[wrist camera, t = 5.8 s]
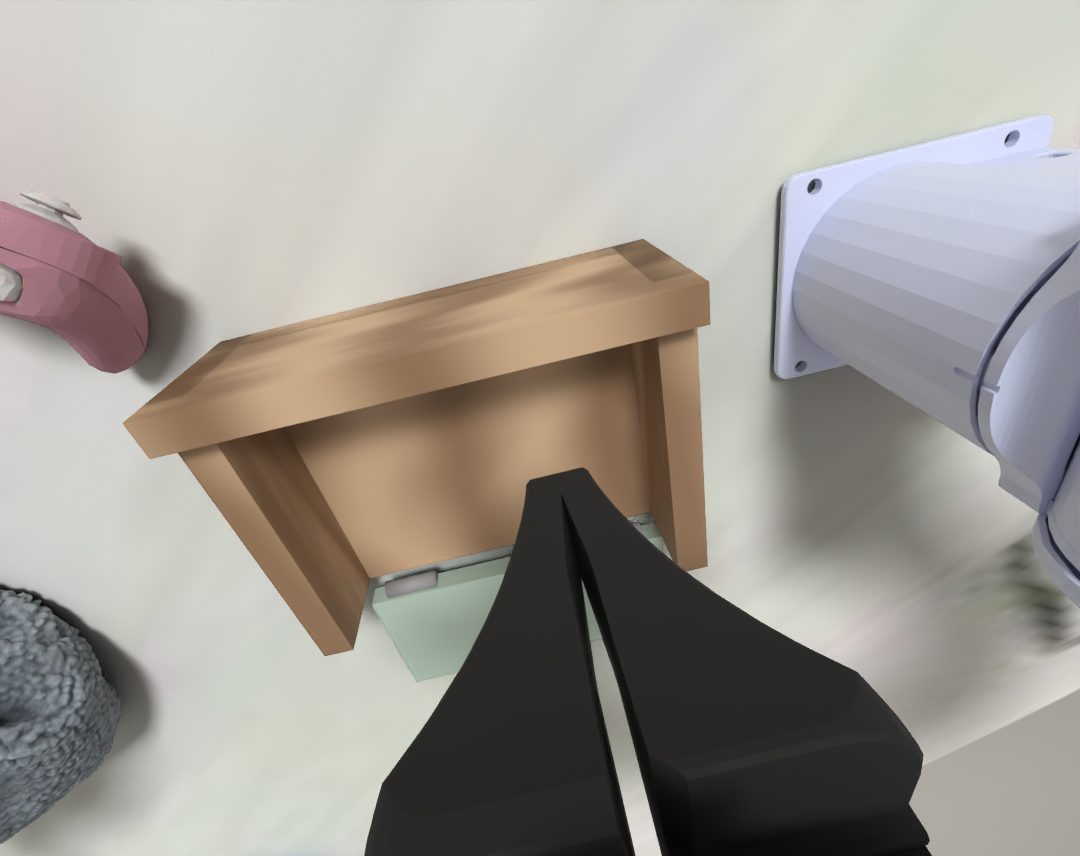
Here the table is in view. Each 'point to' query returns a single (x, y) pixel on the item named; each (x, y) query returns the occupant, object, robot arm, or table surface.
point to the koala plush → (47, 711)
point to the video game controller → (69, 284)
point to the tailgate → (451, 612)
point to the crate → (445, 422)
